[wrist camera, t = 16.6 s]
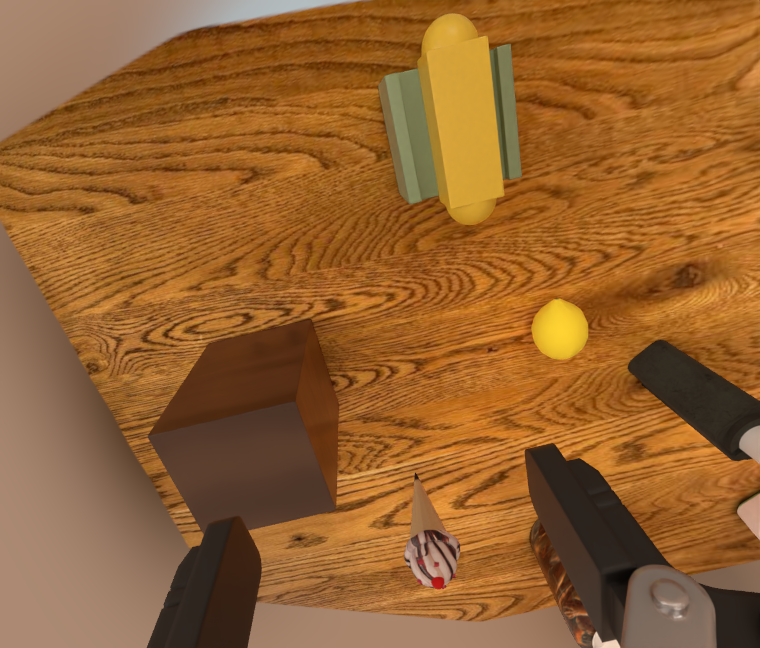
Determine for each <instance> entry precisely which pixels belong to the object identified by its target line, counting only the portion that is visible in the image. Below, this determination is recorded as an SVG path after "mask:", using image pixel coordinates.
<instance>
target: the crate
mask: <svg viewBox="0 0 760 648" xmlns="http://www.w3.org/2000/svg"><path fill="white" fill-rule="evenodd" d="M338 418H339V403H338V400H337V397H336V394H335V391H334V388H333V385H332V382H331V379H330V376H329V373H328V370H327V367H326V364H325V360H324V357H323V354H322V351H321V348H320V345H319V342H318V339H317V336H316V333H315V330H314V327H313V324H312V321H311V319H308V320H304V321H300V322H296V323H292V324H288V325H284V326H280V327H275V328H271V329H267V330H263V331H259V332H255V333H251V334H247V335H242V336H238V337H234V338H230V339H226V340H222V341H218V342H214V343H209V344H208V346H207V347H206V349H205V350H204V352H203V353H202V355H201V356H200V358H199V359H198V361H197V362H196V364H195V365H194V367H193V368H192V370H191V371H190V373H189V374H188V376H187V377H186V379H185V380H184V382H183V383H182V385H181V386H180V388H179V389H178V391H177V392H176V394H175V395H174V397H173V399H172V400H171V402H170V403H169V405H168V406H167V408H166V409H165V411H164V412H163V414H162V415H161V417H160V418H159V420H158V421H157V423H156V424H155V426H154V427H153V429H152V430H151V432H150V433H149V435H148V438H149V440H150V442H151V444H152V445H153V447H154V449H155V451H156V452H157V454H158V456H159V458H160V459H161V461H162V463H163V464H164V466H165V468H166V470H167V471H168V473H169V475H170V477H171V478H172V480H173V482H174V484H175V485H176V487H177V489H178V491H179V492H180V494H181V496H182V497H183V499H184V501H185V503H186V504H187V506H188V508H189V510H190V511H191V513H192V515H193V517H194V518H195V520H196V522H197V523H198V525H199V527H200V529H201V530H202V532H203V534H205V531H206V528H207V526H208V524H209V523H210V522H213V521H217V520H222V519H226V518H230V517H234V516H239V517H241V518H242V520H243V522H244V524H245V526H246V528H247V530H252V529H257V528H261V527H265V526H270V525H274V524H278V523H283V522H287V521H291V520H296V519H300V518H304V517H309V516H313V515H317V514H322V513H326V512H330V511H335V510H336V498H337V458H338Z"/></svg>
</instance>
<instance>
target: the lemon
mask: <svg viewBox="0 0 760 648" xmlns="http://www.w3.org/2000/svg"><path fill="white" fill-rule="evenodd" d="M531 331H532V335H533V340H534V342H535V344H536V346H537V347H538V348H539V350H540V351H541V353H543V354H545V355H546V356H548V357H550V358H554V359H557V360H562V359H568V358H570V357H573V356H575V355H576V354H577V353H578V352H579V351H581V350H582V349H583V348H584V345H585V343H586V341H587V338H588V323H587V321H586V318H585V316H584V314H583V312H582V311H581V309H580V308H578V307H576V306H575V305H574V304H572V303H569V302H567V301H565V300H562V299H560V298H555V299H553V300H552V301H550V302H549V303H547V304H546V305H544V306H543V307H541V309H540V310H539V311H538V313H537V314H536V315H535V316H534V319H533V323H532V327H531Z"/></svg>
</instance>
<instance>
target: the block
mask: <svg viewBox="0 0 760 648" xmlns="http://www.w3.org/2000/svg"><path fill="white" fill-rule="evenodd" d="M489 53H490V63H491V72H492V82H493V91H494V101H495V111H496V120H497V130H498V139H499V149H500V158H501V168H502V178H503V180H504V179H509V180H511V179H515V178H519V177H522V174H521V162H520V150H519V138H518V126H517V114H516V103H515V91H514V79H513V67H512V55H511V44H507V45H503V46H499V47H496V48H495V49H492V50H489ZM378 90H379V95H380V100H381V105H382V110H383V115H384V120H385V125H386V130H387V135H388V140H389V144H390V149H391V154H392V159H393V164H394V169H395V174H396V179H397V184H398V189H399V194H400V195H401V196H402V197H403V198H404V199H405V200H406V201H407V202H408V203H409V204H414V203H418V202H421V201H422V200H423V199H427V198H431V197H435V196H439V192H438V186H437V180H436V174H435V168H434V162H433V156H432V150H431V144H430V138H429V132H428V126H427V120H426V114H425V108H424V102H423V96H422V90H421V84H420V78H419V72H418V69H414V70H410V71H406V72H402V73H393V74H389V75H386V76H385V77H384V78H383V79H382V81H381V82H380V84H379V85H378Z"/></svg>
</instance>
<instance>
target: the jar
mask: <svg viewBox="0 0 760 648" xmlns="http://www.w3.org/2000/svg"><path fill="white" fill-rule="evenodd" d="M530 543H531V547H532V549H533V552H534V554H535V556H536V558H537V561H538V563H539V565H540V567H541V570H542V572H543V574H544V576H545V578H546V581H547V583H548V585H549V587H550V589H551V591H552V594H553V596H554V598H555V600H556V602H557V604H558V607H559V608H560V611H561V613H562V615H563V617H564V619H565V621H566V623H567V625H568V627H569V629H570V631H571V633H572V635H573V637H574V639H575V640H576V642H577V643H578V645H580V647H581V648H620V645H619V644H618V642H617V640H612V641H608V642H603V643H602V641H601V639H600V637H599V636H598V634H597V632H596V630H595V628H594V626H593V624H592V622H591V620H590V618H589V616H588V614H587V612H586V610H585V608H584V606H583V604H582V602H581V600H580V598H579V596H578V594H577V592H576V590H575V588H574V586H573V584H572V582H571V580H570V578H569V576H568V574H567V572H566V571H565V569H564V567H563V565H562V563H561V561H560V559H559V557H558V555H557V553H556V551H555V549H554V547H553V545H552V543H551V541H550V539H549V537H548V535H547V533H546V531H545V529H544V527H543V525H542V523H541V521H540V519H538V520H537V521H536V523H535V524H534V526H533V528H532V530H531V533H530Z"/></svg>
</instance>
